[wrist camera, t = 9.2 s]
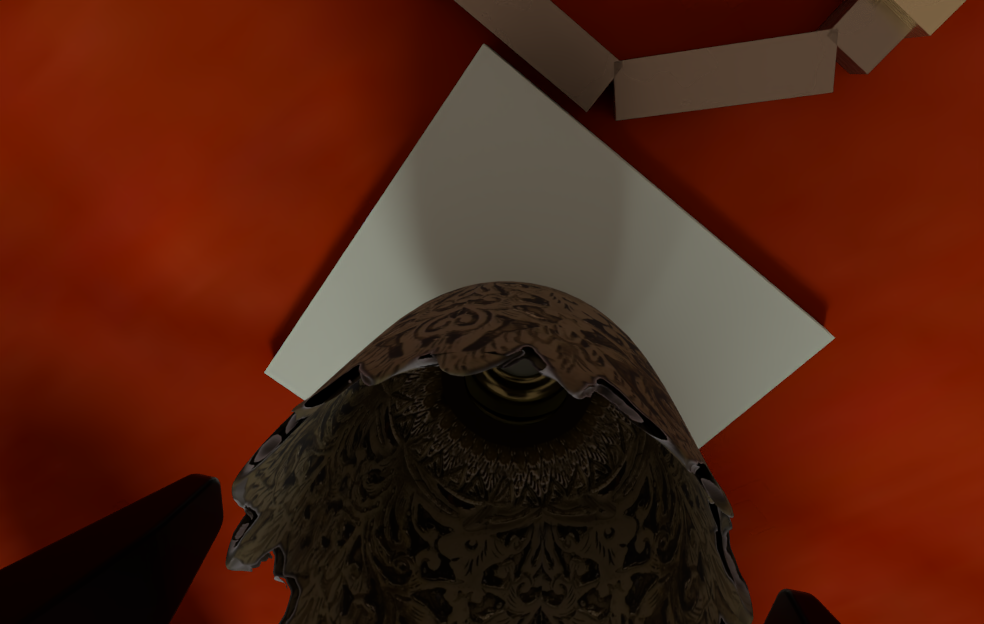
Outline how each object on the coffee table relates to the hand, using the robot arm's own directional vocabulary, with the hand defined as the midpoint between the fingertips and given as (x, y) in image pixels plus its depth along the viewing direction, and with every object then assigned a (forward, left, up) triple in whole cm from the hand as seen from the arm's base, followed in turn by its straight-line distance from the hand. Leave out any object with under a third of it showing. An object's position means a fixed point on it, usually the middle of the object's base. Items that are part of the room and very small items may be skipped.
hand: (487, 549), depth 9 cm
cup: (0, 0, -7) cm, 7 cm away
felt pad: (0, 0, -8) cm, 8 cm away
